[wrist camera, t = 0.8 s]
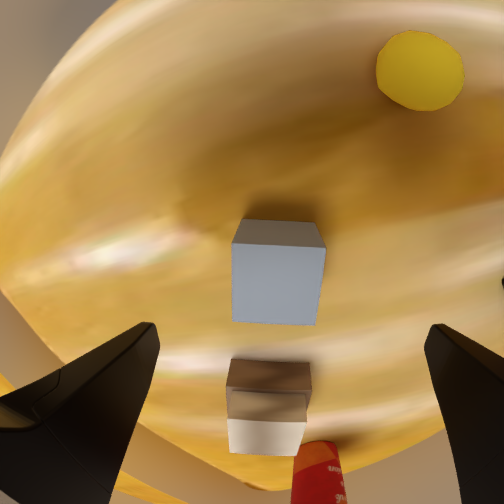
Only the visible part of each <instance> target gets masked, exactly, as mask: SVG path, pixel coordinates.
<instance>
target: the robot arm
mask: <svg viewBox="0 0 504 504" xmlns="http://www.w3.org/2000/svg"><path fill="white" fill-rule="evenodd" d="M502 285H503V288H504V279H503V281H502ZM159 351H160V341H159V337H158V333H157V329H156V326H155V324H154V323H151V322H141V323H139V324H137V325H136V326H134V327H132V328H130V329H129V330H127V331H125V332H123V333H122V334H120V335H118V336H116V337H114V338H113V339H111V340H109V341H107V342H106V343H104V344H102V345H100V346H99V347H97V348H95V349H93V350H91V351H90V352H88V353H86V354H84V355H83V356H81V357H79V358H77V359H75V360H74V361H72V362H70V363H68V364H67V365H65V366H63V367H62V368H61V369H57V370H56V371H54V372H52V373H50V374H48V375H47V376H45V377H43V378H41V379H39V380H37V381H35V382H33V383H31V384H28V385H26V386H24V387H22V388H20V389H17V390H15V391H13V392H10V393H8V394H6V395H3V396H1V397H0V504H109V501H110V498H111V494H112V491H113V488H114V485H115V482H116V479H117V476H118V473H119V470H120V468H121V464H122V462H123V459H124V456H125V453H126V450H127V447H128V445H129V442H130V439H131V436H132V434H133V431H134V428H135V425H136V423H137V420H138V417H139V415H140V412H141V409H142V407H143V404H144V401H145V399H146V396H147V394H148V391H149V388H150V385H151V381H152V377H153V373H154V369H155V365H156V362H157V358H158V354H159ZM424 351H425V355H426V359H427V363H428V367H429V371H430V375H431V380H432V384H433V387H434V391H435V394H436V397H437V400H438V403H439V406H440V410H441V413H442V416H443V420H444V423H445V427H446V430H447V434H448V438H449V442H450V446H451V450H452V454H453V458H454V463H455V468H456V472H457V477H458V483H459V487H460V495H461V502H462V504H504V358H503V357H501V356H499V355H498V354H496V353H494V352H492V351H491V350H489V349H487V348H486V347H484V346H482V345H480V344H479V343H477V342H475V341H473V340H472V339H470V338H468V337H466V336H464V335H463V334H461V333H459V332H457V331H456V330H454V329H452V328H450V327H448V326H447V325H445V324H434V325H432V326H431V328H430V331H429V333H428V336H427V339H426V341H425V345H424Z"/></svg>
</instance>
